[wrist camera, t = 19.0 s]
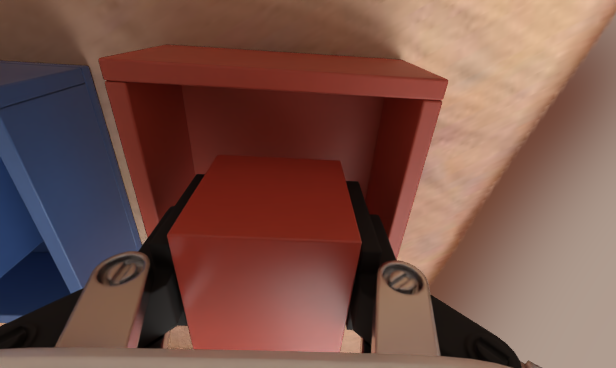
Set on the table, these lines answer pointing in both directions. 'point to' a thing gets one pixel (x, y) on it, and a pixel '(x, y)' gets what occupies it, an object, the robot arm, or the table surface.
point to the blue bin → (60, 182)
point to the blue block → (14, 224)
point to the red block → (267, 255)
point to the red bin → (272, 119)
